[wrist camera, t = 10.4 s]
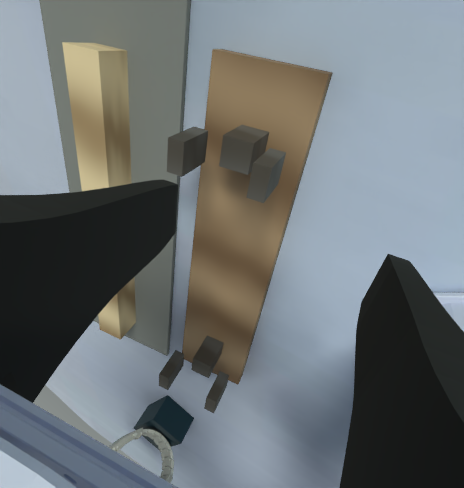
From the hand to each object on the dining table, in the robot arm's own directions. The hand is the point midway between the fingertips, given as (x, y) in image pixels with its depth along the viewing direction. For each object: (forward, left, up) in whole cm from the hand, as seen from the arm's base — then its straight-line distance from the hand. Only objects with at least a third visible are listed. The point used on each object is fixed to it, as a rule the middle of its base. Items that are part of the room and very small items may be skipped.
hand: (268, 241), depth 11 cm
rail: (-2, +16, -9) cm, 18 cm away
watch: (-28, +23, -10) cm, 37 cm away
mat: (-2, +16, -9) cm, 19 cm away
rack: (-6, +7, -9) cm, 13 cm away
